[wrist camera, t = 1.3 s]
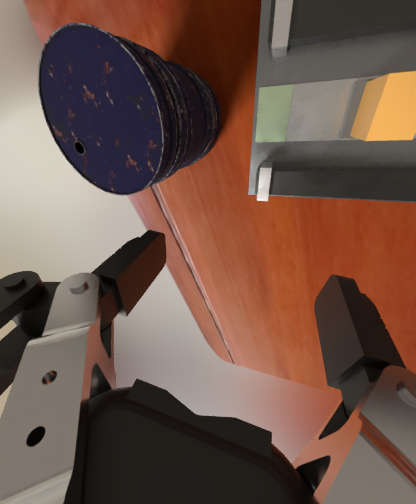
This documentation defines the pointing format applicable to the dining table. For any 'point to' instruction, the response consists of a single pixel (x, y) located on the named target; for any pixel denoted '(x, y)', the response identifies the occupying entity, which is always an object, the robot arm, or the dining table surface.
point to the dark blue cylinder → (123, 109)
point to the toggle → (382, 108)
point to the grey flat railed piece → (328, 99)
